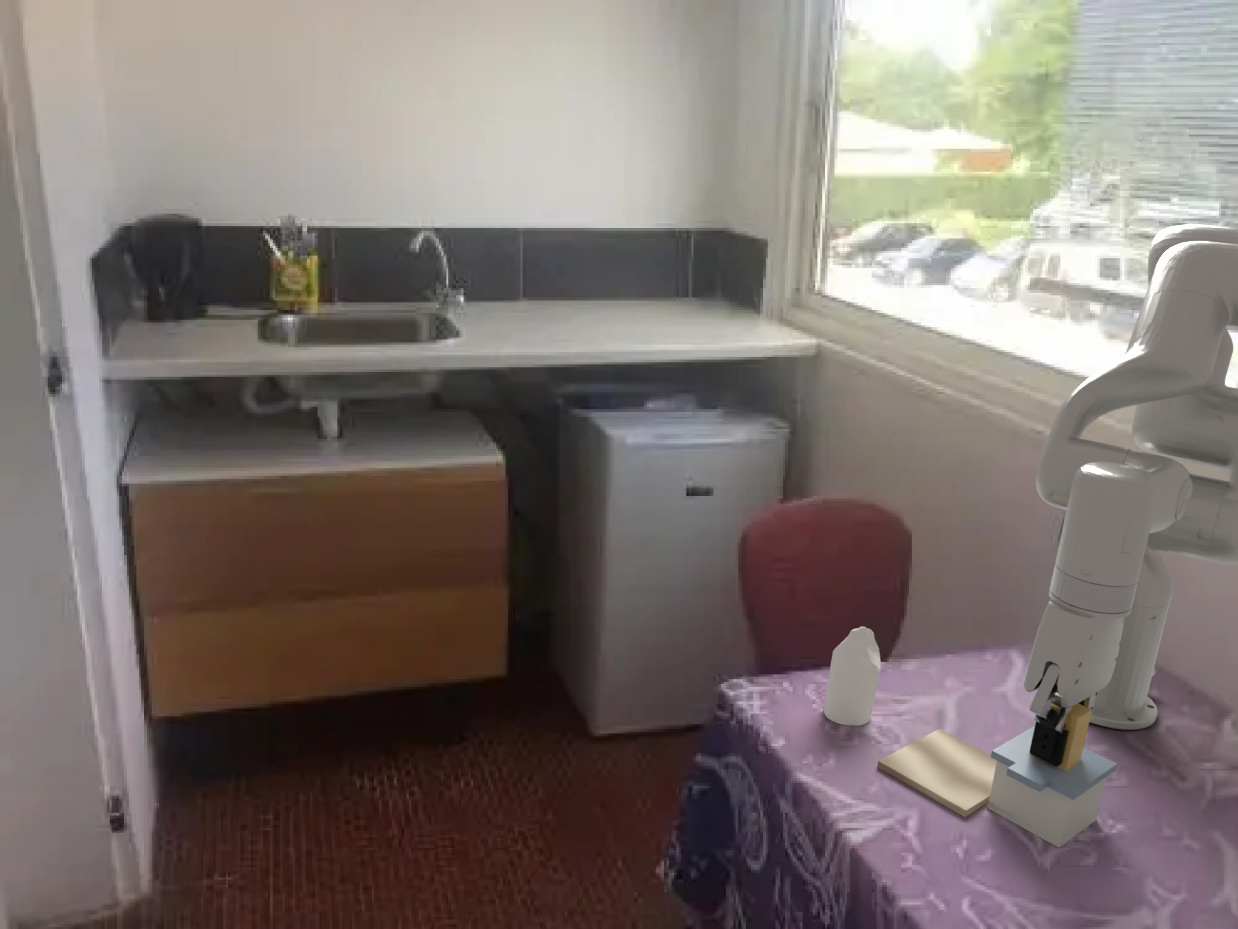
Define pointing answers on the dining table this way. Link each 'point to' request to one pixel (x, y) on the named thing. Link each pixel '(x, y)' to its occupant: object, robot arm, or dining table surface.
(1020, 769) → the lid
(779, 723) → the dining table surface
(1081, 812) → the tub
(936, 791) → the board
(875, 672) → the white faceted top cylinder
